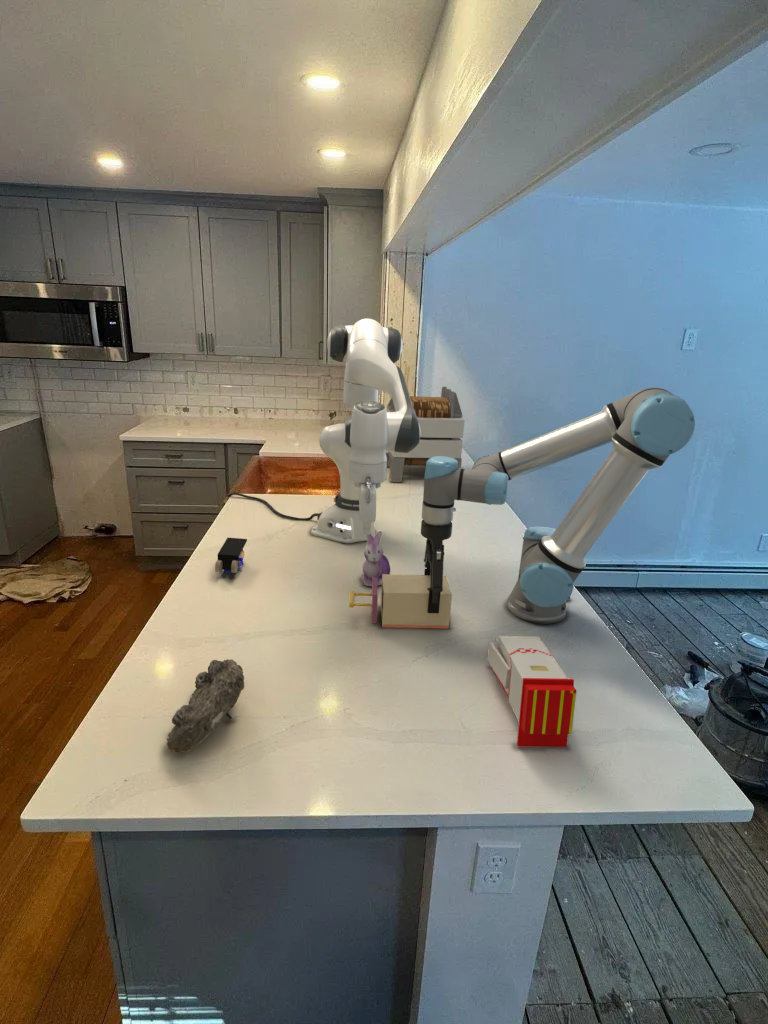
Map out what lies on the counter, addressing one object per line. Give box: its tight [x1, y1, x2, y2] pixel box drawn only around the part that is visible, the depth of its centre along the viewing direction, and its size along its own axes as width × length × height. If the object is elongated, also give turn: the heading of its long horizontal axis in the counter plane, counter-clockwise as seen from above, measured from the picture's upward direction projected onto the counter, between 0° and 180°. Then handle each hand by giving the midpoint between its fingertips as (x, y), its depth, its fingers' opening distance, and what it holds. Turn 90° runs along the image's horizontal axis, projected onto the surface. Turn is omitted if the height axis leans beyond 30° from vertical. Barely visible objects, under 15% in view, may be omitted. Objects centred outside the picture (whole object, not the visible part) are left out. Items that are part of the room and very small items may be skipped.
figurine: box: [361, 530, 391, 587], centre depth 162 cm, size 9×10×15 cm
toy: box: [486, 635, 577, 748], centre depth 115 cm, size 12×13×30 cm
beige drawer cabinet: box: [380, 573, 453, 629], centre depth 145 cm, size 17×10×10 cm, turn 92°
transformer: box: [386, 386, 465, 483], centre depth 268 cm, size 34×33×41 cm
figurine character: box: [214, 537, 248, 578], centre depth 166 cm, size 7×8×15 cm
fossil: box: [166, 658, 245, 754], centre depth 106 cm, size 22×10×15 cm
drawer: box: [348, 578, 384, 624], centre depth 144 cm, size 21×9×8 cm, turn 92°
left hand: (366, 526), depth 139 cm, fingers open, 8 cm apart
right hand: (430, 601), depth 145 cm, fingers closed on beige drawer cabinet, 10 cm apart
